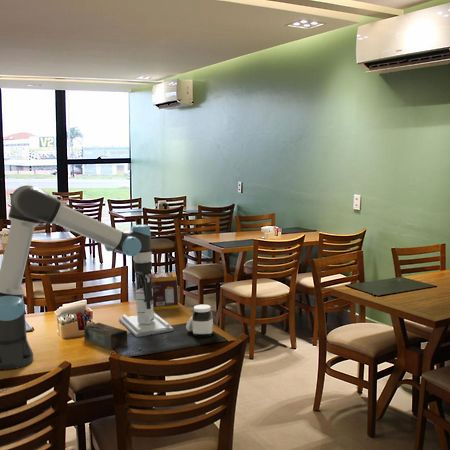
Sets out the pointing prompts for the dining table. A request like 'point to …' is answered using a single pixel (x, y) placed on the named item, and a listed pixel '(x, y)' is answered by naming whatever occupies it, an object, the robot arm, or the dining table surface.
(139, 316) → the syrup box
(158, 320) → the panel
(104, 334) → the dark grey rectangular block
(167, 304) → the supplement box
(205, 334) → the spread jar
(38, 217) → the robot arm
